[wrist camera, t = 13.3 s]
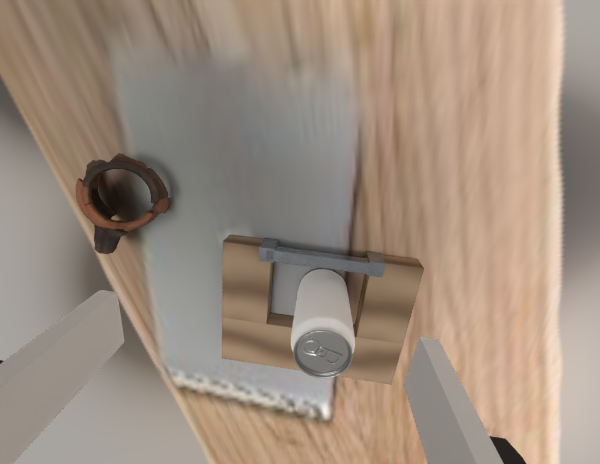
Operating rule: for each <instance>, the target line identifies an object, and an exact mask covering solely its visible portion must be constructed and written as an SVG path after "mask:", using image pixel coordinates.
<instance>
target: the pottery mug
mask: <svg viewBox="0 0 600 464" xmlns="http://www.w3.org/2000/svg"><path fill="white" fill-rule="evenodd" d="M111 169H125V170H129V171H131V172H134V173H135V174H137V175H138V176H140V177H141V178H142V179H143V180H144V181H145V183H146V184H147V185H148V187H149V190H150V193H151V203H154V204H153V207H152V209H151V210H150V211H147V212H146V213H145V214H144V215H143V216H141V217H140V218H138V219H136V220H132V221H127V222H124V221H121V220H119V221H114V220H112V219H111V218H112V217H113V216H114V215H115V214H116V212H114V211H113V210H111V209H110V208H108V207H107V206H106V205H105V204H104V202H103V201H102V199H101V198H100V195H99V192H98V186H99V181H100V178H101V176H102V174H101V173H103V172H105V171H108V170H111ZM76 198H77V202H78V204H79V207H80V209H81V210H82V212H83V213H84V215H85V216H86V217H88V218H89V219H90V221H91V222H92V223H93V224H94V227H95V234H94V241H95V250H96V251H97V252H98V253H104V254H109V253H113V252H114V251H115V249H116V247H117V244H118V242H119V240H120V238H121V236H123V235H126V234H127V233H128V231H130V230H133V229H136V228H140V227H142V226H144V225H146V224H147V223H149V222H151V221H152V220H154V219H155V218H156V217H157V215H158V214H159V213H166V211H167V209H168V206H169V202H170V201H169V198H168V192H167V190H166V187H165V186H164V184H163V182H162V180H161V179H160V177H159V176H158V175H157V174H156V173H155V171H154V170H153V169H152V168H147V167H146V165H145V164H144V163H142V162H140V161H137V160H134V159H131V158H129V157H127V156H125V155H123V154H120V153H119V154H118V155H116V156H115V157H114V158H113V159H112V160H111V161H110V162H106V161H104V160H98V161H95V160H93V161H91V162H90V163H89V164H88V165H87V169H86V176H85V178H84V180H83V181H82V180H81V179H80V178H79V179H78V181H77V184H76Z"/></svg>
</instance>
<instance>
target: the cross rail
mask: <svg viewBox="0 0 600 464" xmlns="http://www.w3.org/2000/svg"><path fill="white" fill-rule="evenodd" d="M278 242H279V240H276V239H269V238H265V239H264V240H263V242H262V244H261V245H260V247H259V261H263V262H270V263H273V262H281V263H289V264H296V265H304V266H311V267H318V268H326V269H333V270H341V271H348V272H356V273H363V274H367V276H374V277H381V278H382V277H383V273H384V268H385V261H384V259H383V257H382V255H381V253H376V252H369V251H366V256H365V258H362V257H354V256H347V255H339V254H331V253H324V252H316V251H308V250H301V249H293V248H286V247H278Z"/></svg>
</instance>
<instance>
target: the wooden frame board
mask: <svg viewBox="0 0 600 464" xmlns="http://www.w3.org/2000/svg"><path fill="white" fill-rule="evenodd" d="M263 240H264V239H257V238H250V237H242V236H234V235H229V236H228V237H227V238H226V239H225V240H224V241H223V303H222V358H223V359H230V360H236V361H243V362H249V363H256V364H262V365H269V366H275V367H281V368H288V369H294V370H301V369H300V368H299V367H298V366H297V365H296V363H295V361H294V357H293V351H292V348H291V333H292V326H293V319H294V316H289V315H282V314H275V313H270V305H271V292H272V279H273V266H274V262H273V263H270V262H263V261H259V247H260V245H261V244H262V242H263ZM382 257H383V259H384V261H385V268H384V273H383V277H382V278H381V277H374V276H367V274H365V277H364V282H363V287H362V292H361V297H360V302H359V307H358V312H357V317H356V322H355V325H353V329H354V336H355V349H354V352H353V358H352V362H351V364H350V366H349V367H348V369H347V370H346V371H345V372H343V373H342V374H340V375H338V376H339V377H346V378H352V379H359V380H365V381H372V382H378V383H384V384H392V381H393V377H394V374H395V370H396V367H397V363H398V359H399V356H400V352H401V349H402V345H403V342H404V338H405V334H406V331H407V327H408V324H409V320H410V317H411V313H412V309H413V306H414V302H415V299H416V295H417V292H418V288H419V284H420V281H421V277H422V274H423V270H424V268H423V266H422V265H421V263H420V262H419V261H418V259H411V258H403V257H396V256H388V255H382ZM301 371H302V370H301Z"/></svg>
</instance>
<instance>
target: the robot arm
mask: <svg viewBox="0 0 600 464" xmlns="http://www.w3.org/2000/svg"><path fill="white" fill-rule="evenodd" d="M123 343H124V336H123V329H122V322H121V316H120V309H119V302H118V296H117V292H111V291H104V290H99V291H98V292H97V293H95V294H94V295H93V296H91V297H90V298H89V299H87V300H86V301H85V302H83V303H82V304H80V305H79V306H78V307H76V308H75V309H74V310H72V311H71V312H70V313H68V314H67V315H66V316H64V317H63V318H62V319H60V320H59V321H57V322H56V323H55V324H53V325H52V326H51V327H49V328H48V329H47V330H45V331H44V332H43V333H41V334H40V335H39V336H37V337H36V338H35V339H33V340H32V341H30V343H28V344H26V345H25V346H24V347H22V348H21V349H20V350H18V351H17V352H16V353H14V354H13V355H12V356H10V357H9V358H8V359H6V360H5V361H1V360H0V464H12V463H14V462H15V461H16V459H17V458H18V457H19V456H20V455H21V454H22V453H23V452H24V451H25V450H26V449H27V447H28V446H29V445H30V444H31V443H32V442H33V441H34V440H35V439H36V438H37V436H38V435H39V434H40V433H41V432H42V431H43V430H44V429H45V428H46V427H47V425H49V423H50V422H51V421H52V420H53V419H54V418H55V417H56V416H57V415H58V414H59V413H60V412H61V410H62V409H63V408H64V407H65V406H66V405H67V404H68V403H69V402H70V401H71V399H72V398H73V397H74V396H75V395H76V394H77V393H78V392H79V391H80V390H81V389H82V387H83V386H84V385H85V384H86V383H87V382H88V381H89V380H90V379H91V378H92V377H93V376H94V374H95V373H96V372H97V371H98V370H99V369H100V368H101V367H102V366H103V365H104V364H105V362H106V361H107V360H108V359H109V358H110V357H111V356H112V355H113V354H114V353H115V352H116V350H117V349H118V348H119V347H120V346H121V345H122V344H123ZM404 387H405V390H406V393H407V397H408V400H409V403H410V407H411V410H412V413H413V417H414V420H415V423H416V427H417V430H418V433H419V437H420V440H421V443H422V446H423V450H424V453H425V456H426V460H427V463H428V464H526V463H525V461H524V459H523V458H522V457H521V455H520V454H519V453H518V452H517V451H516V450H515V449H514V448H513V447H512V446H511V444H510V443H509V442H508V441H507V440H506V439H504V438H498V437H491V436H489V435H488V433H487V431H486V429H485V427H484V425H483V423H482V421H481V420H480V418H479V416H478V414H477V412H476V410H475V408H474V406H473V404H472V402H471V401H470V399H469V397H468V395H467V393H466V391H465V389H464V387H463V385H462V383H461V381H460V380H459V378H458V376H457V374H456V372H455V370H454V368H453V366H452V364H451V362H450V361H449V359H448V357H447V355H446V353H445V351H444V349H443V347H442V345H441V343H440V341H439V340H438V339H434V338H427V337H420V338H419V340H418V343H417V346H416V349H415V352H414V355H413V358H412V361H411V364H410V367H409V370H408V373H407V376H406V379H405V382H404Z"/></svg>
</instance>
